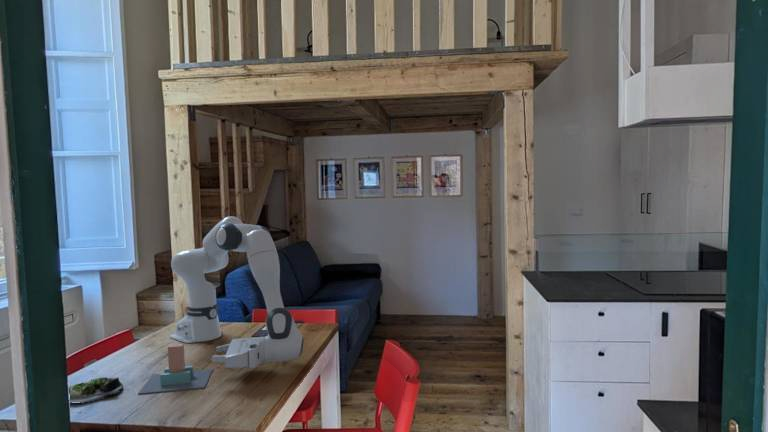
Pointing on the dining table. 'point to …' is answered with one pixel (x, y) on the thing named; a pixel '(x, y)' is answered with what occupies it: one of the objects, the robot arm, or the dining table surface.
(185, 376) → the slotted rack
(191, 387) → the mat
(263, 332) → the chocolate bar
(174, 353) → the salmon orange block
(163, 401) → the dining table surface
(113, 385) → the salad plate
